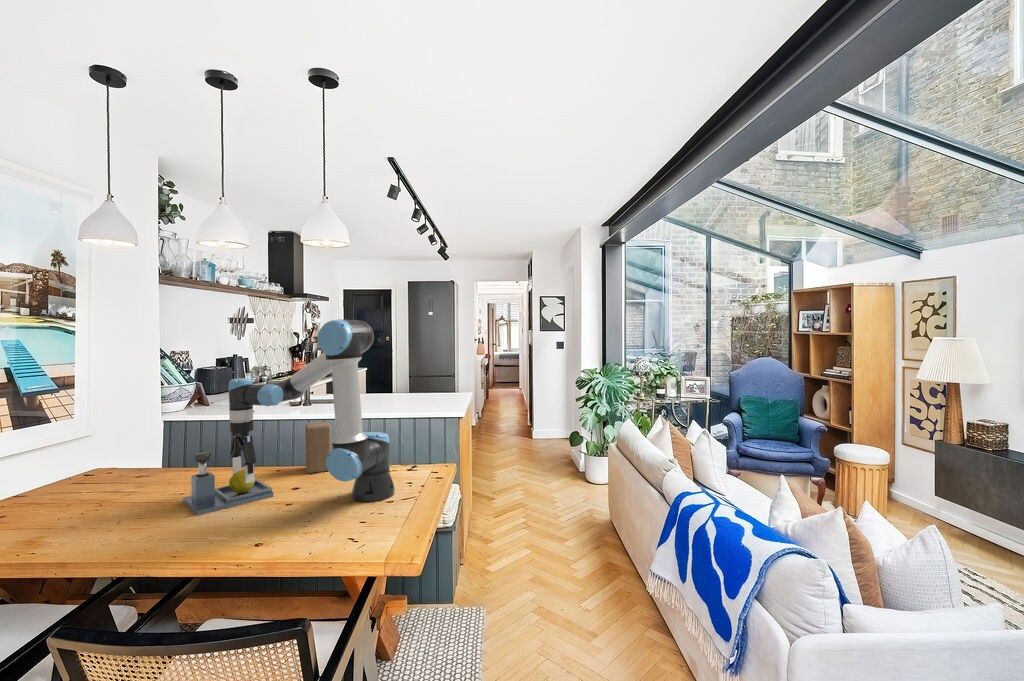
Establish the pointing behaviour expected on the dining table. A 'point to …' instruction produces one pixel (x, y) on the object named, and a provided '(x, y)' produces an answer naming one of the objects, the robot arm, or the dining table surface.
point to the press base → (221, 495)
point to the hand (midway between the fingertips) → (243, 478)
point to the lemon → (240, 482)
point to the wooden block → (317, 446)
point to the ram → (202, 462)
